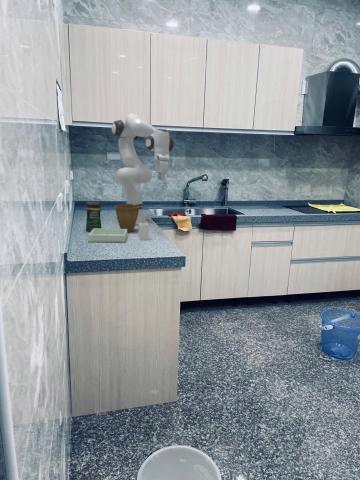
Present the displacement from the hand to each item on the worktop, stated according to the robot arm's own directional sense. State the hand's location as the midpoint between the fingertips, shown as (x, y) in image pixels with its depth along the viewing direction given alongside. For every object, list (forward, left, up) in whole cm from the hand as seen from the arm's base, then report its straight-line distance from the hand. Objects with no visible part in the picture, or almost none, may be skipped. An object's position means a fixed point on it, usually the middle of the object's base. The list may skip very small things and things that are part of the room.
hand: (161, 180), depth 216 cm
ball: (+21, -30, -31) cm, 48 cm away
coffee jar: (-5, -42, -33) cm, 54 cm away
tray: (+16, -30, -33) cm, 47 cm away
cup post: (+15, -10, -33) cm, 38 cm away
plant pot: (-6, -21, -33) cm, 40 cm away
